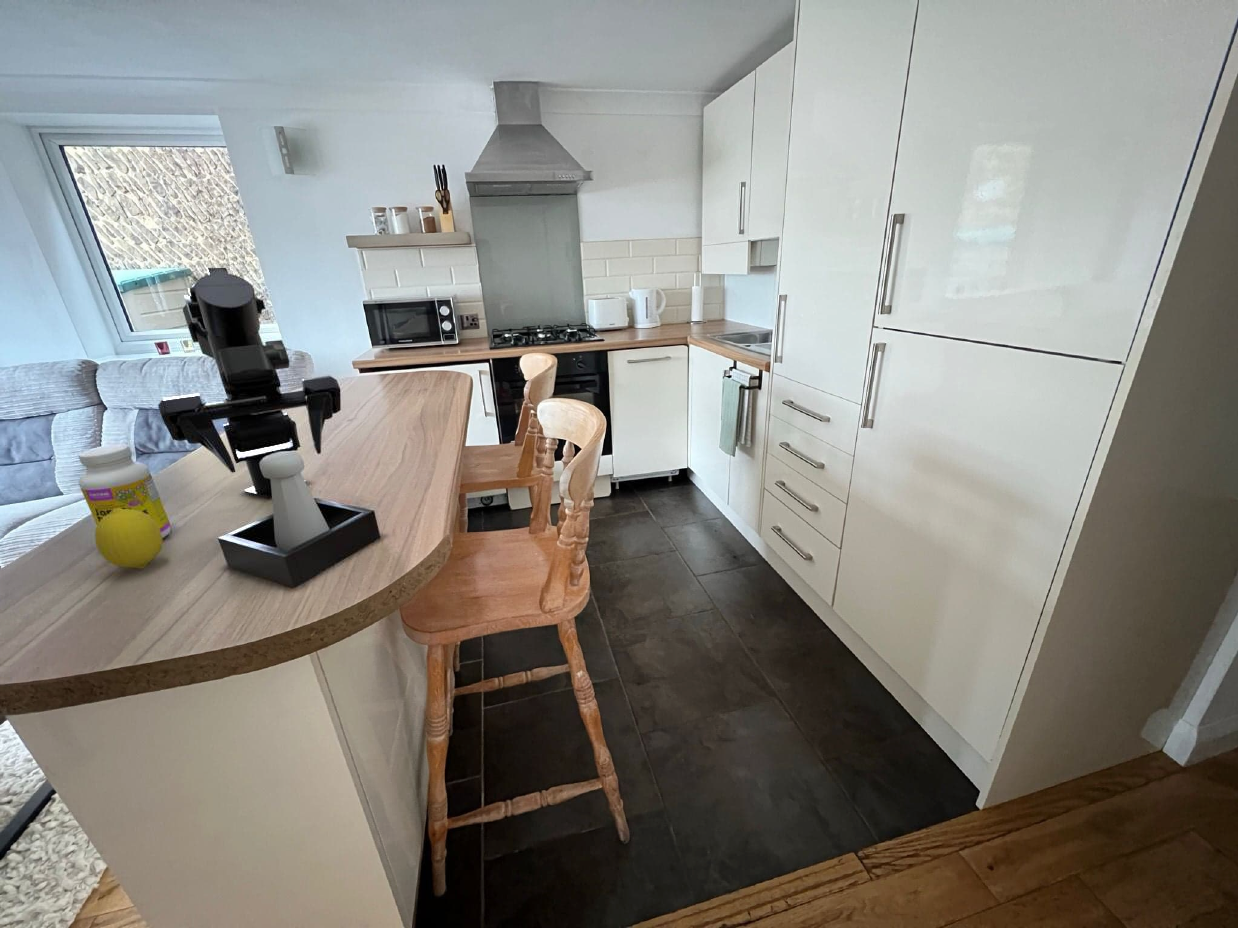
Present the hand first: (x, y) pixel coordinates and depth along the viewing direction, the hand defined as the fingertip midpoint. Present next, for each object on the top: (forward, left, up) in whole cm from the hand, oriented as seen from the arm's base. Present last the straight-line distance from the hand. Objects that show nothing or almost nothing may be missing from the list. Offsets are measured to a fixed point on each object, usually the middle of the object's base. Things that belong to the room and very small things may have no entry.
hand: (278, 461), depth 63 cm
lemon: (-12, -12, -11) cm, 20 cm away
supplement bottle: (-21, -8, -11) cm, 25 cm away
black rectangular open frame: (+4, -2, -11) cm, 12 cm away
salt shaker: (+4, -2, -11) cm, 12 cm away
